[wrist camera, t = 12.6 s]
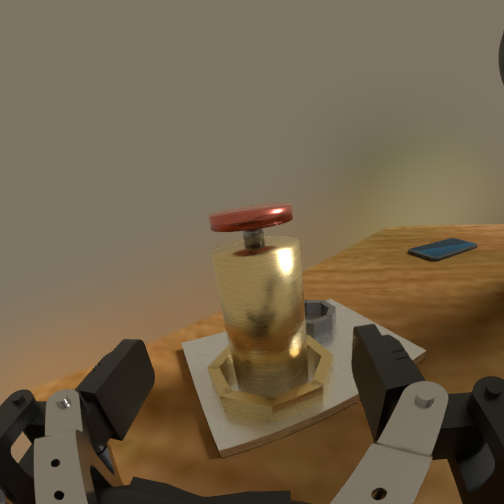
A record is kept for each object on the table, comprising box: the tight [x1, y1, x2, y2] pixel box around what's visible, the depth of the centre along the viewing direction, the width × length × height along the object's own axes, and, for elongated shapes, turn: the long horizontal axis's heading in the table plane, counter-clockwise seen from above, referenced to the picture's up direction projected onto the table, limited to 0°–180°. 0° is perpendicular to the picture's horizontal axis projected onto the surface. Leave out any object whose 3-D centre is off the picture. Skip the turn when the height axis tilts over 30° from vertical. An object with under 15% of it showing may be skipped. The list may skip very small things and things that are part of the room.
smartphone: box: [408, 238, 477, 261], centre depth 44 cm, size 8×15×1 cm, turn 103°
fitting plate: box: [182, 299, 426, 458], centre depth 22 cm, size 17×14×2 cm
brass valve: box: [209, 203, 309, 397], centre depth 18 cm, size 5×5×12 cm
